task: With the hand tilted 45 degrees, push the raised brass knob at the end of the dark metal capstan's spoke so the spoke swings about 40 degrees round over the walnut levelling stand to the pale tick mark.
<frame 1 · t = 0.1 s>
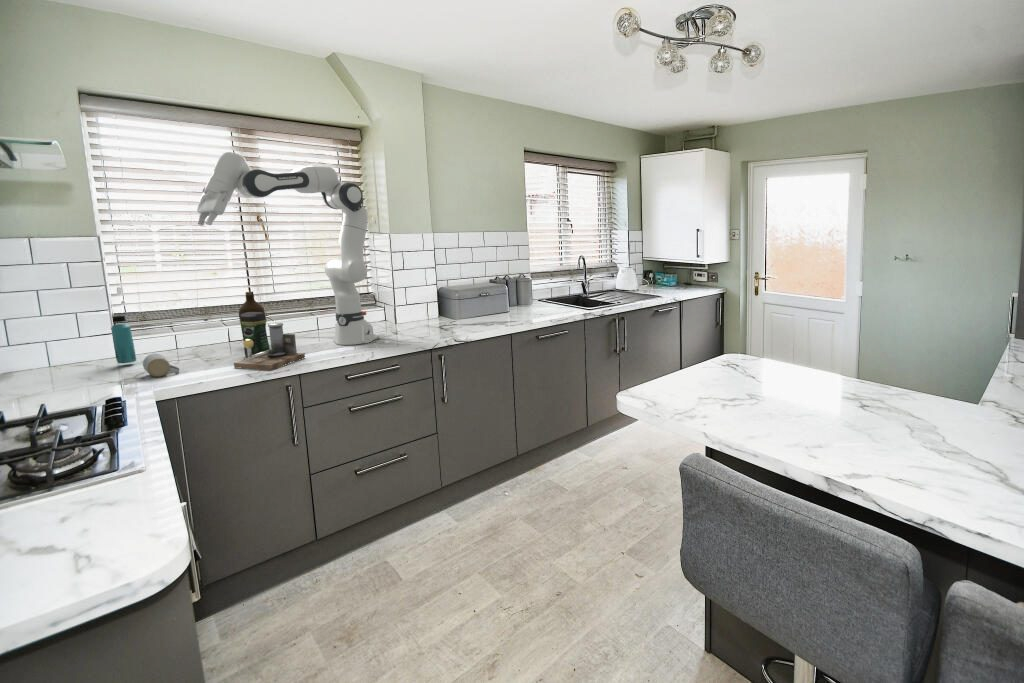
hand: (204, 224, 199), 54 cm above the table, tool tilted 30°, fingers open, 8 cm apart
stand: (270, 362, 212), on the table
olive oil: (256, 346, 244), on the table
capstan: (264, 343, 208), point 9 cm above the table, hinge at 0.0°
coffee jar: (257, 355, 226), on the table
ceramic mug: (162, 375, 197), on the table
beverage bottle: (127, 365, 212), on the table
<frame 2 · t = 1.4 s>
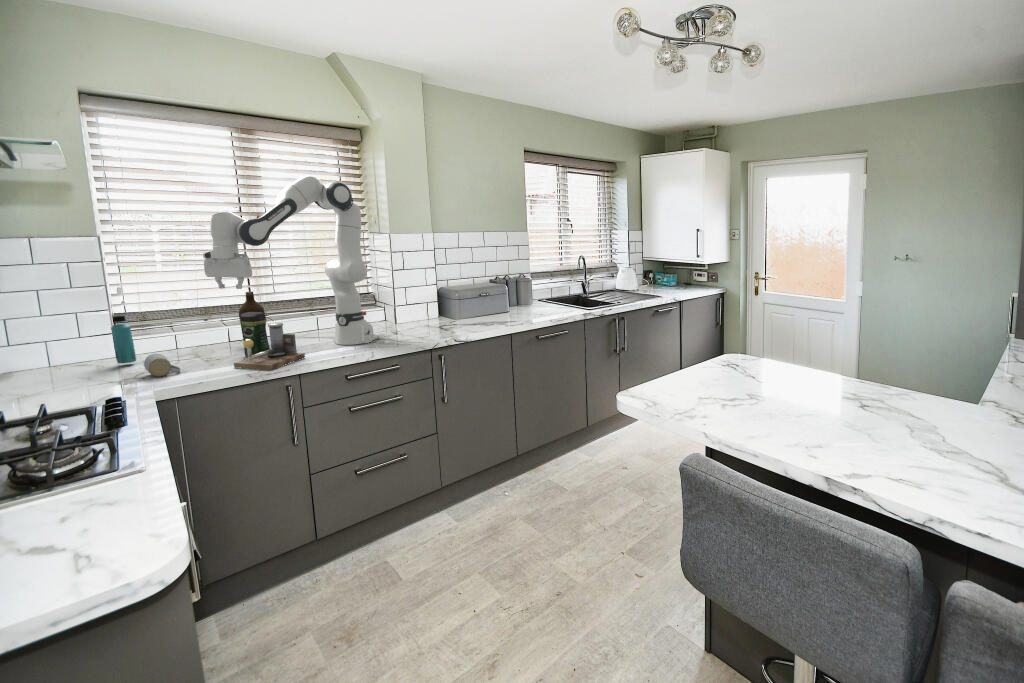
hand: (230, 288, 213), 29 cm above the table, tool pointing down, fingers open, 7 cm apart
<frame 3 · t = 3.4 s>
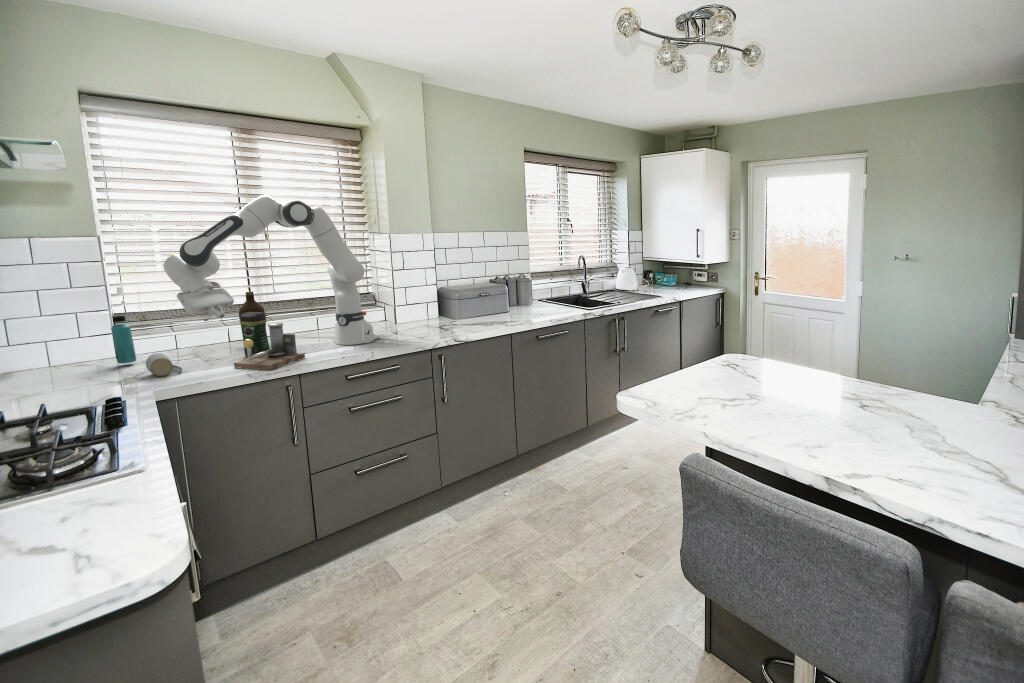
hand: (221, 316, 203), 20 cm above the table, tool tilted 45°, fingers closed
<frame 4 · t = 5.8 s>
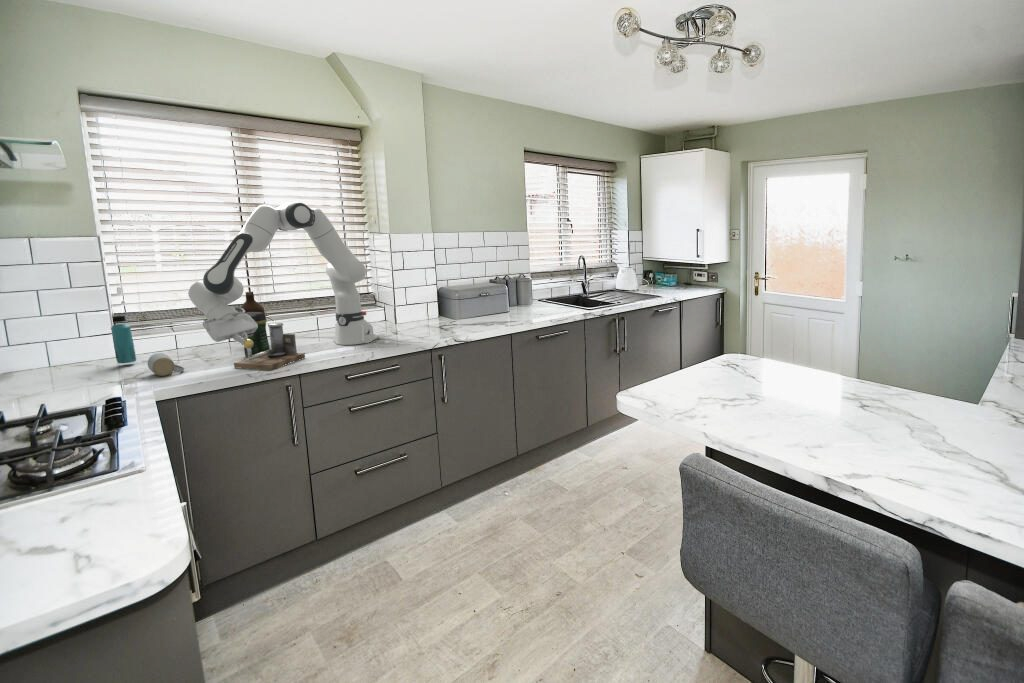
hand: (246, 343, 202), 10 cm above the table, tool tilted 45°, fingers closed
capstan: (264, 343, 208), point 9 cm above the table, hinge at 0.1°, touching gripper
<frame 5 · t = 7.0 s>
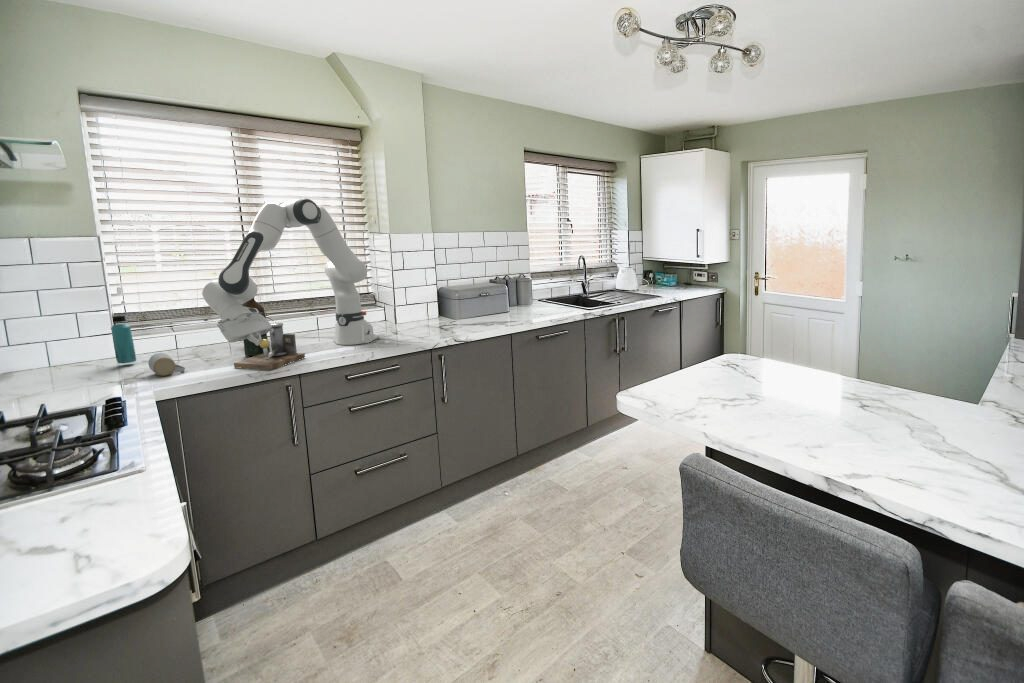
hand: (260, 343, 201), 10 cm above the table, tool tilted 45°, fingers closed, pressing on capstan
capstan: (271, 343, 208), point 9 cm above the table, hinge at 23.7°, touching gripper
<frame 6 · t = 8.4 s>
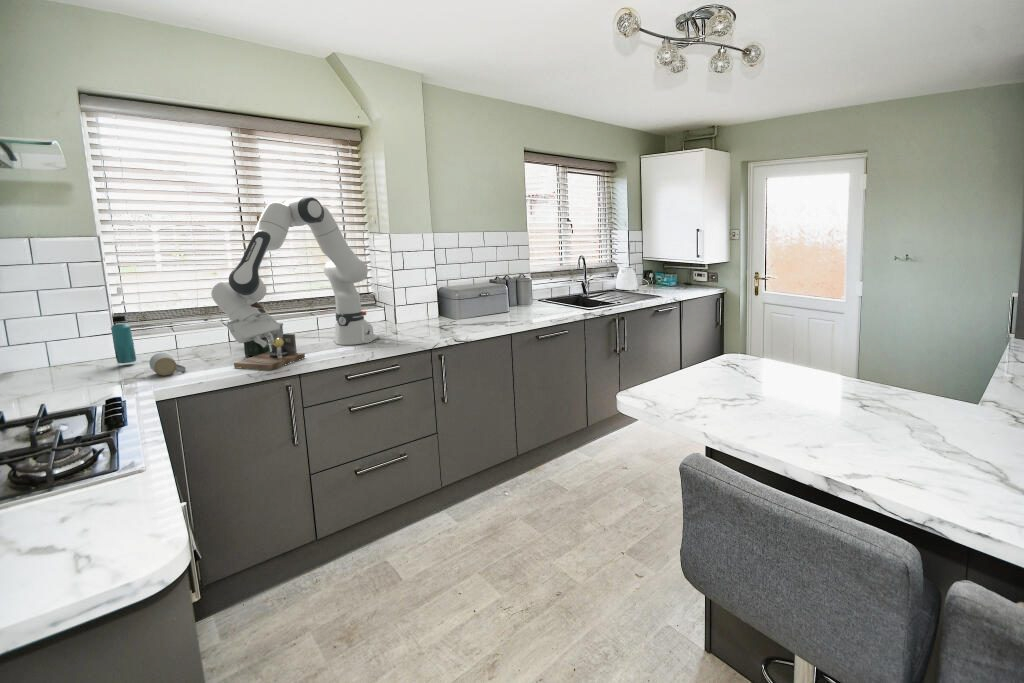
hand: (269, 344, 200), 10 cm above the table, tool tilted 45°, fingers closed
capstan: (277, 342, 209), point 9 cm above the table, hinge at 41.4°, touching gripper
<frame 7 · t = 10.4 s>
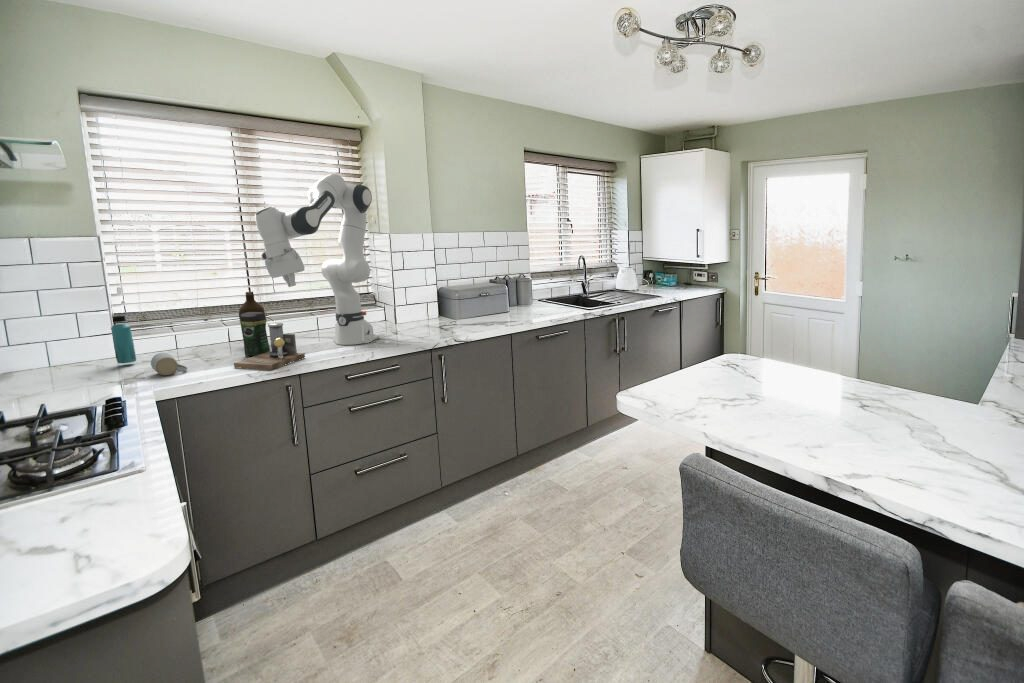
hand: (292, 286, 203), 31 cm above the table, tool pointing down, fingers closed
capstan: (278, 342, 209), point 9 cm above the table, hinge at 42.6°
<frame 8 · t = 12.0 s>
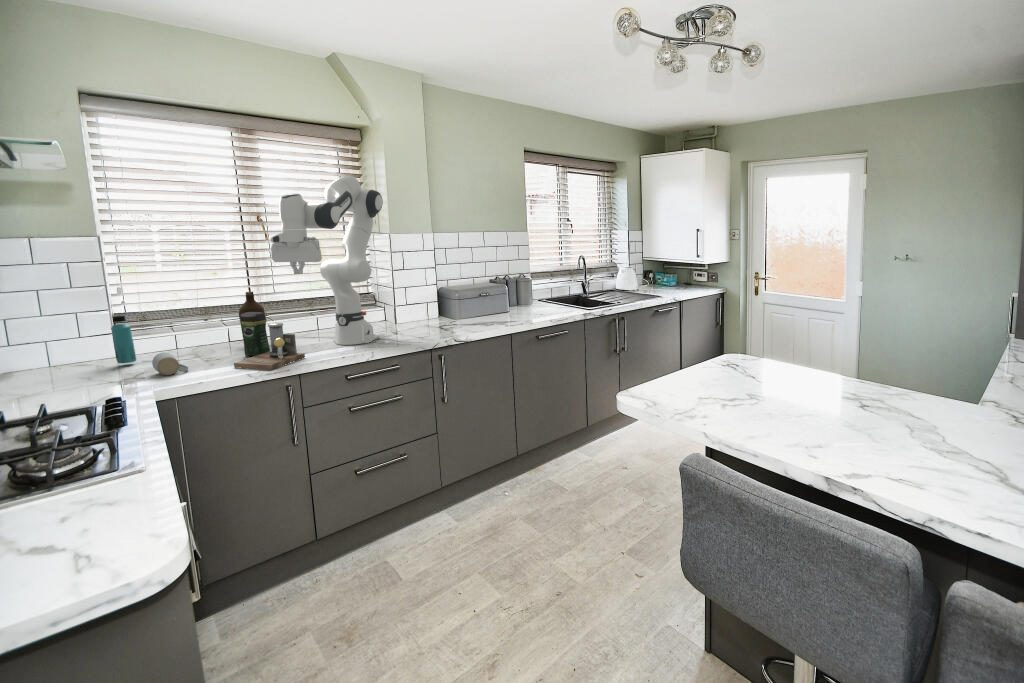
hand: (298, 274, 205), 35 cm above the table, tool pointing down, fingers closed
at the end: capstan at +43° (first picture: +0°) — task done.
